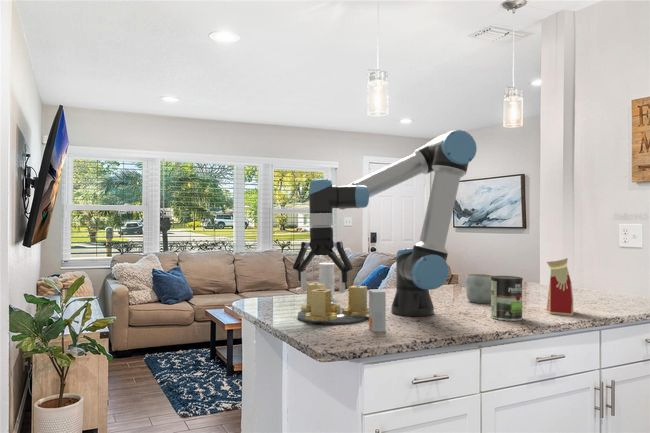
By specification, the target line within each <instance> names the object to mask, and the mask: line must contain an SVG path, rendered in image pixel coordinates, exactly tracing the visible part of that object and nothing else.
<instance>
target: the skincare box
mask: <svg viewBox="0 0 650 433" xmlns="http://www.w3.org/2000/svg"><path fill="white" fill-rule="evenodd" d="M386 300H387V298H386V291H385V290H383V289H377V288H376V289H374V288H373V289H368V308H369V315H368V328H369V329H370V330H371V332H372V333H373V332H374V333H375V332H376V333H377V332H379V333H381V332H382V333H383V332H386V329H387V328H386V322H387V320H386V312H387V308H386V306H387V305H386Z"/></svg>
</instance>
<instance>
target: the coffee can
mask: <svg viewBox="0 0 650 433" xmlns="http://www.w3.org/2000/svg"><path fill="white" fill-rule="evenodd" d="M523 280H524V279H523V277H521V276H516V275H515V276H514V275H496V276H492V277H491V303H490V306H491V307H490V308H491V311H490V312H491V314H490V318H491V317H492V318H491V319H493V318H494V319H493V320H497V319H498V321H503V320H505V321H506V322H519V321H522V320H523ZM505 321H504V322H505Z"/></svg>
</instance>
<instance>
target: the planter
mask: <svg viewBox="0 0 650 433" xmlns="http://www.w3.org/2000/svg"><path fill="white" fill-rule="evenodd" d="M492 276H497V275H495V274H487V273H469V274H465V288H466V290H465V292H466V297H467V300H468V301H469V302H471V303H476V304H491V277H492Z"/></svg>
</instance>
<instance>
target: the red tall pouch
mask: <svg viewBox="0 0 650 433" xmlns="http://www.w3.org/2000/svg"><path fill="white" fill-rule="evenodd" d="M568 259H569V258H568V257H566V258H564V259H559V260H554V261H553V260H551V261H546V263H547V264H548V267H549V268H550V276H549V285H548V287H549V288H548V295H547V304H546V310H545V311H546V312H545V313H547V314H550V315H559V316H573V315H574V293H573V284H572V281H571V277H570V273H569V269H568Z"/></svg>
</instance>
